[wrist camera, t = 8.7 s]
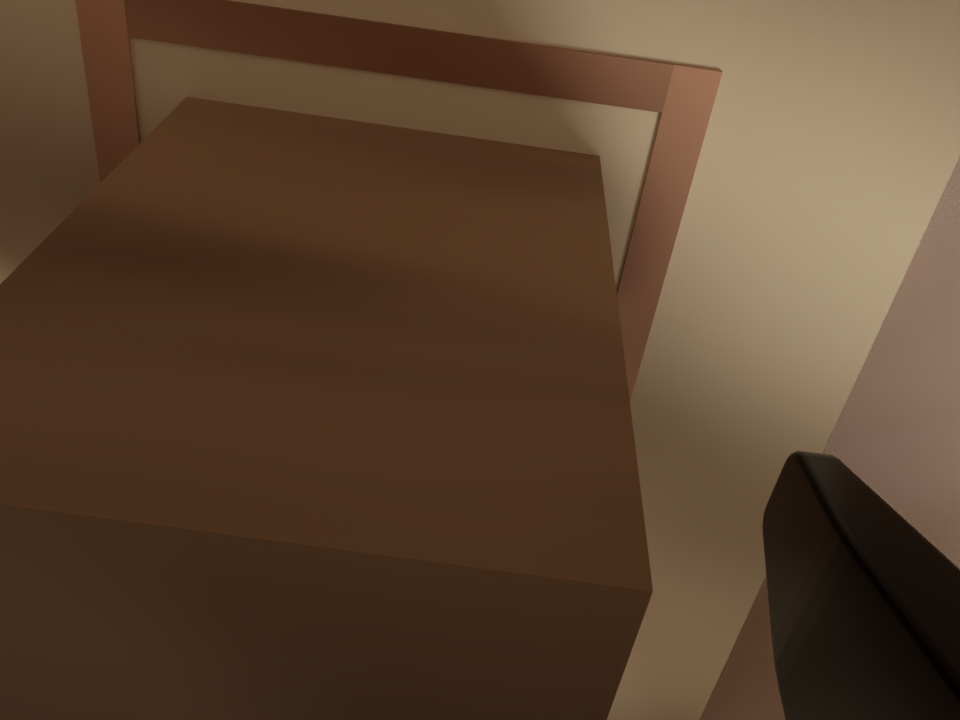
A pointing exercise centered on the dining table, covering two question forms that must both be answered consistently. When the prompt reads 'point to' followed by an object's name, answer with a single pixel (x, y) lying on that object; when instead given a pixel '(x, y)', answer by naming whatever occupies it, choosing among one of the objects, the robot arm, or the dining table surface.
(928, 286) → the dining table surface
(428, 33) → the board
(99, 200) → the walnut block
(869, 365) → the dining table surface
